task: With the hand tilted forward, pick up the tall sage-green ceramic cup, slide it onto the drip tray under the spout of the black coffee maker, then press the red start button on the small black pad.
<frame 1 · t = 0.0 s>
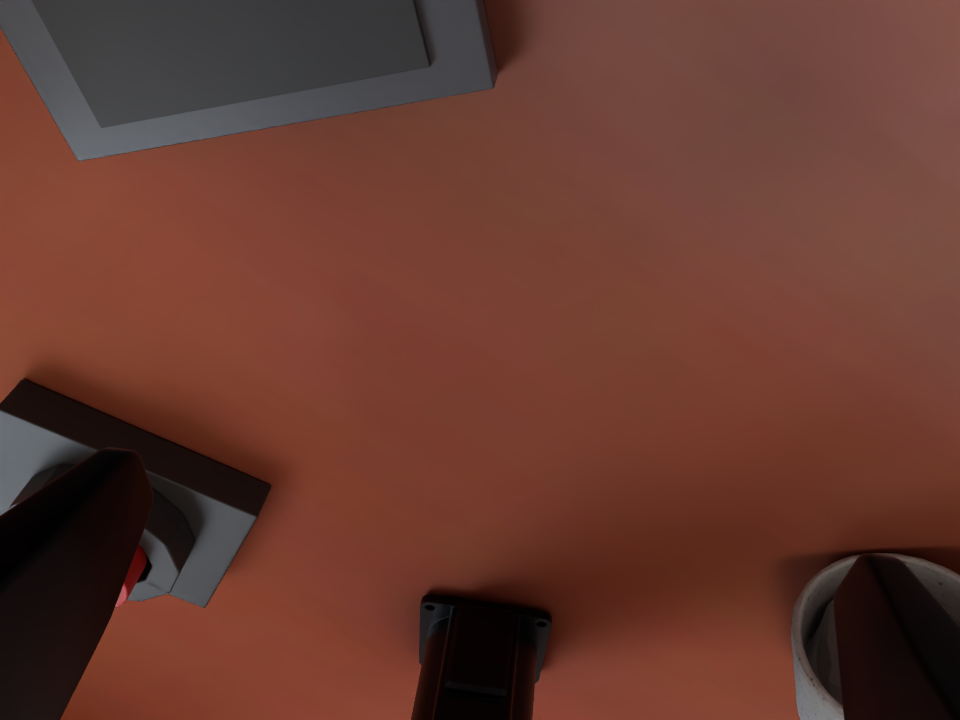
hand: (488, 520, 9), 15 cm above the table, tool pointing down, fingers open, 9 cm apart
start button: (86, 562, 32), point 4 cm above the table, slide at 0.1 cm
ceramic mug: (900, 595, 33), on the table
button pad: (132, 489, 35), on the table
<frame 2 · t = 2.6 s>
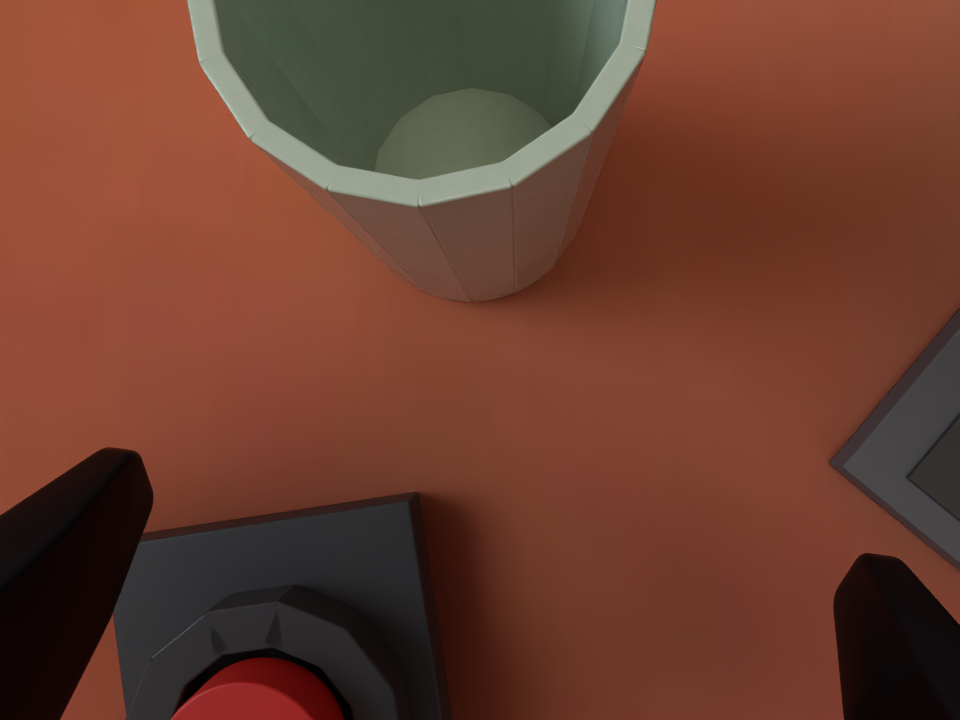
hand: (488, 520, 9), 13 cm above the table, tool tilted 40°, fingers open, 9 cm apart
cup: (472, 192, 23), on the table
button pad: (300, 691, 23), on the table
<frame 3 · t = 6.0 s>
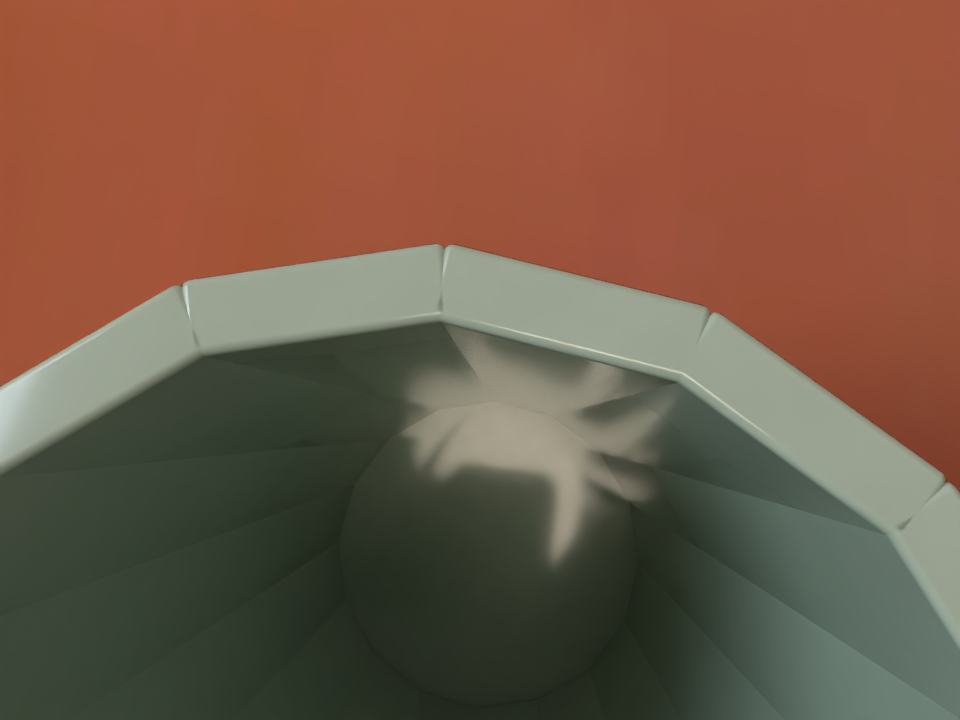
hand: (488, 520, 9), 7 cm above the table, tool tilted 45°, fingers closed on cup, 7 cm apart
cup: (488, 546, 16), on the table, touching gripper
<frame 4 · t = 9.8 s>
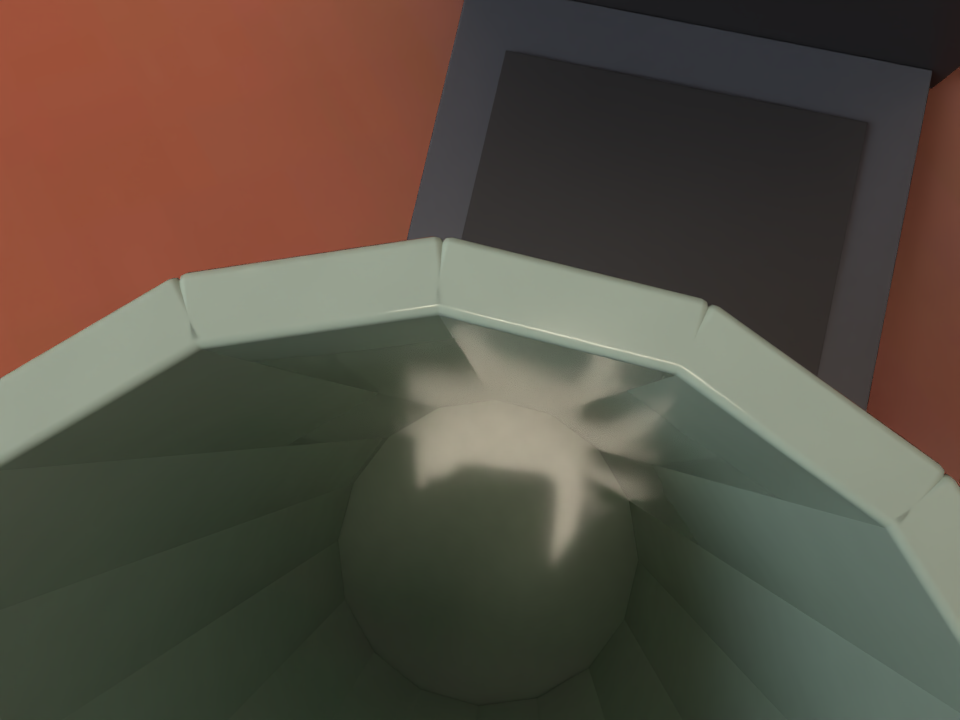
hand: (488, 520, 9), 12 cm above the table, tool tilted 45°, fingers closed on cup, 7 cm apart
cup: (487, 545, 16), point 5 cm above the table, touching gripper
coffee maker: (666, 140, 21), on the table
when the fingers open (8 cm above the table, at t = 13.8 s): cup stays where it is, resting on coffee maker.
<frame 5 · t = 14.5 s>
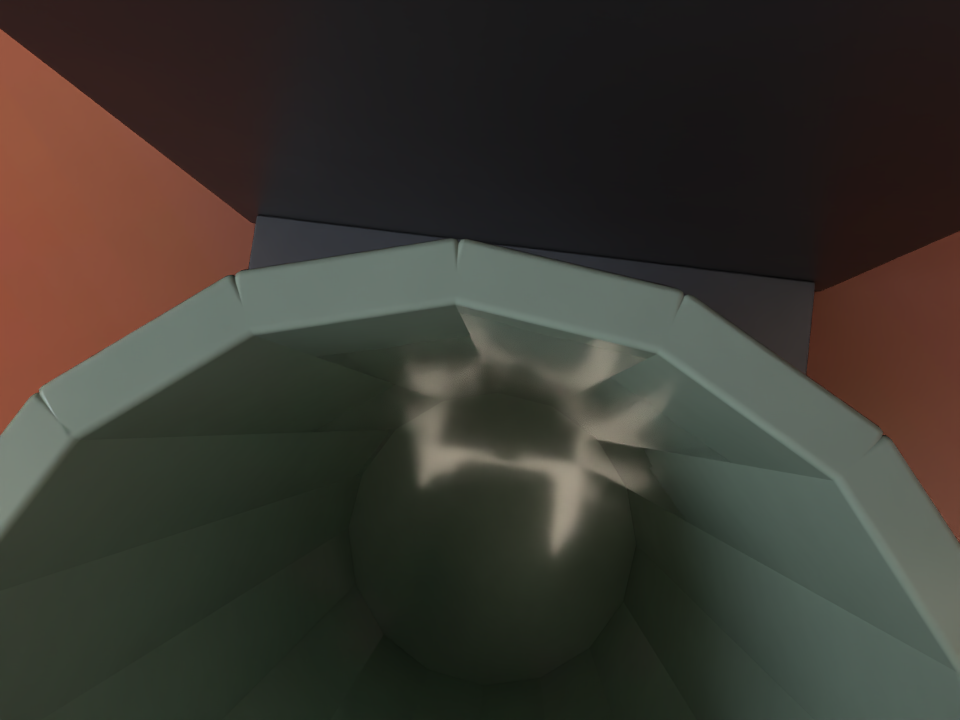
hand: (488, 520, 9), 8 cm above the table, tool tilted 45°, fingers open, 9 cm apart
cup: (491, 532, 16), point 1 cm above the table, touching coffee maker
coffee maker: (513, 378, 18), on the table
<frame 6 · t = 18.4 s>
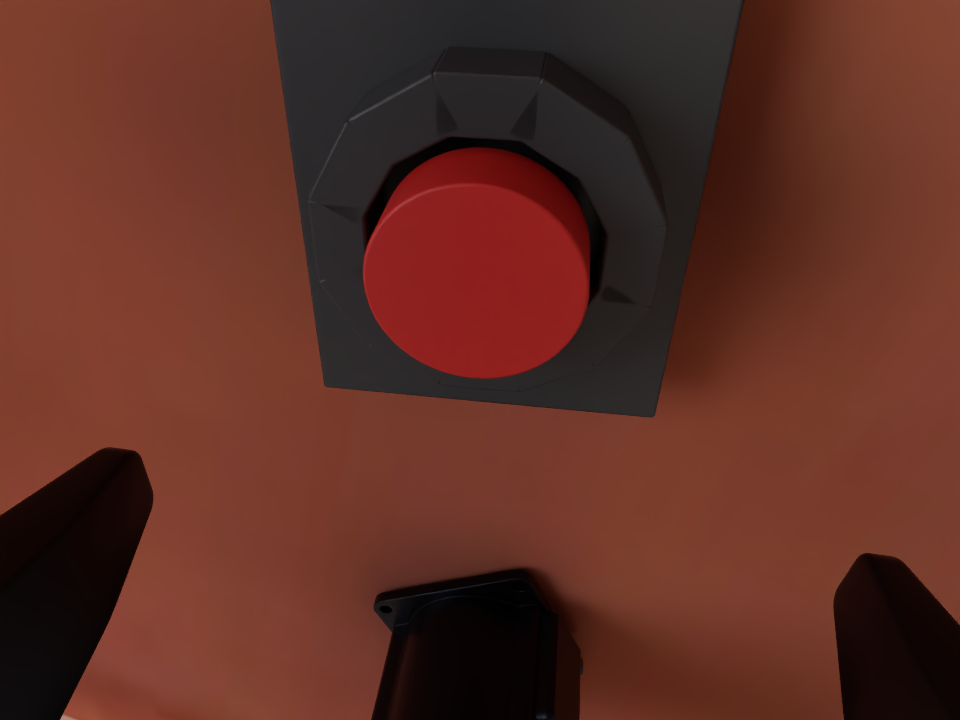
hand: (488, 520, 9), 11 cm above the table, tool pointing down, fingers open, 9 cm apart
start button: (479, 267, 15), point 4 cm above the table, slide at 0.1 cm
button pad: (499, 184, 18), on the table
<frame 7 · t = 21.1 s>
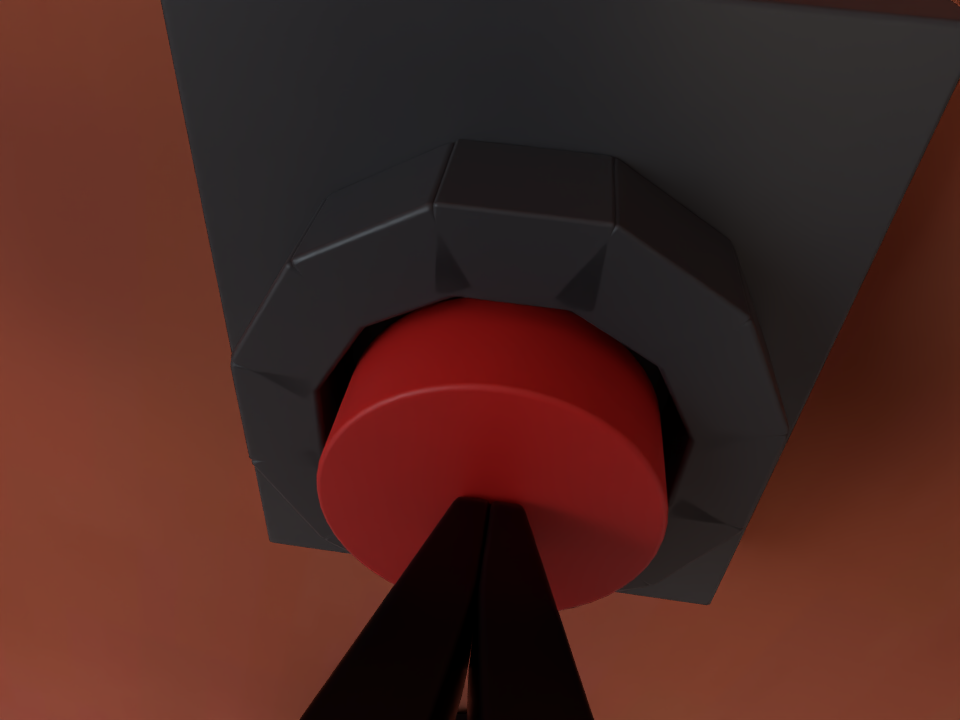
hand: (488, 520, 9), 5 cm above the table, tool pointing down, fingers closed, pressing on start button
start button: (495, 466, 10), point 4 cm above the table, slide at -0.1 cm, touching gripper
button pad: (519, 302, 13), on the table
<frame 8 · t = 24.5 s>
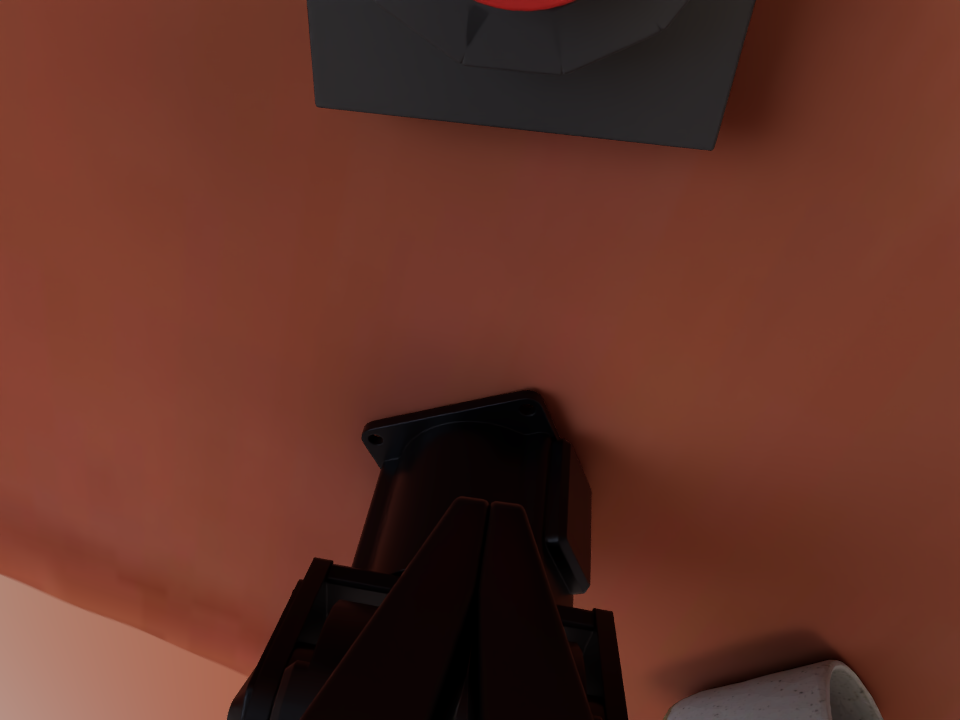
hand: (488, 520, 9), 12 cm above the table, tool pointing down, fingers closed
ceramic mug: (783, 695, 34), on the table
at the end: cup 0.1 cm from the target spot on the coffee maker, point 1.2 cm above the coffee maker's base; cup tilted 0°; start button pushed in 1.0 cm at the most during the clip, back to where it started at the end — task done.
